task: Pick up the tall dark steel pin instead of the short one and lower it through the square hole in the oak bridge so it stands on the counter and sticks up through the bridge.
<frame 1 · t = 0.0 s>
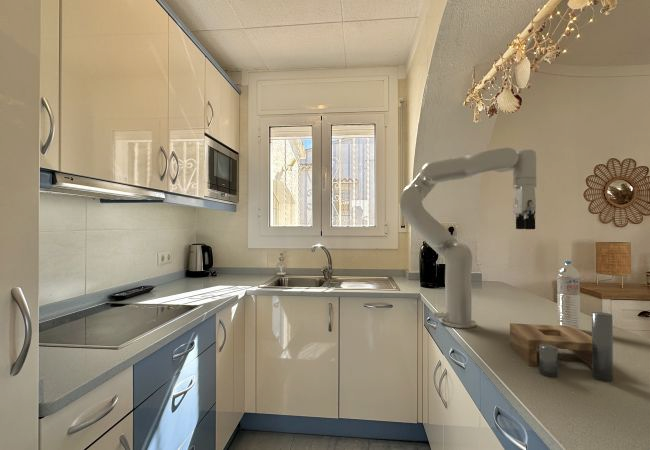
hand: (525, 229, 127), 37 cm above the table, tool pointing down, fingers open, 9 cm apart
bridge: (552, 356, 99), on the table
short pin: (548, 374, 87), on the table
long pin: (602, 378, 85), on the table
water bottle: (568, 330, 124), on the table
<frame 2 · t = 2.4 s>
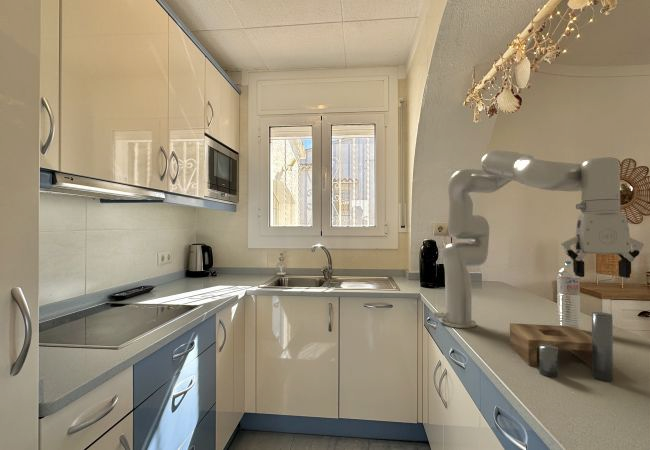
hand: (601, 276, 85), 25 cm above the table, tool pointing down, fingers open, 9 cm apart
nothing on the table moved.
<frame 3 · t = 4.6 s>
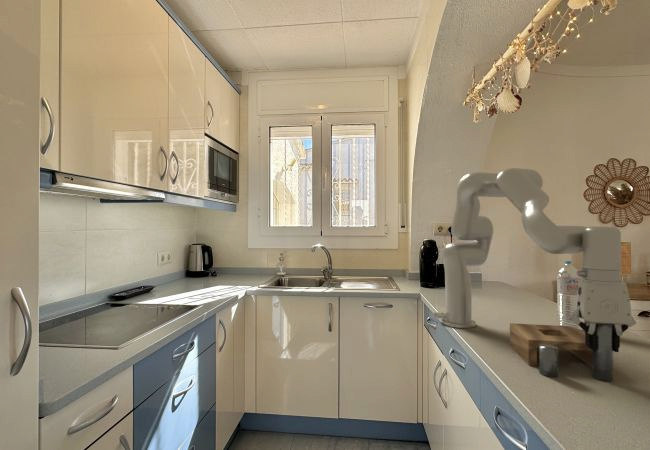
hand: (602, 348, 85), 7 cm above the table, tool pointing down, fingers closed on long pin, 4 cm apart
long pin: (602, 378, 85), on the table, touching gripper
everything else where it was.
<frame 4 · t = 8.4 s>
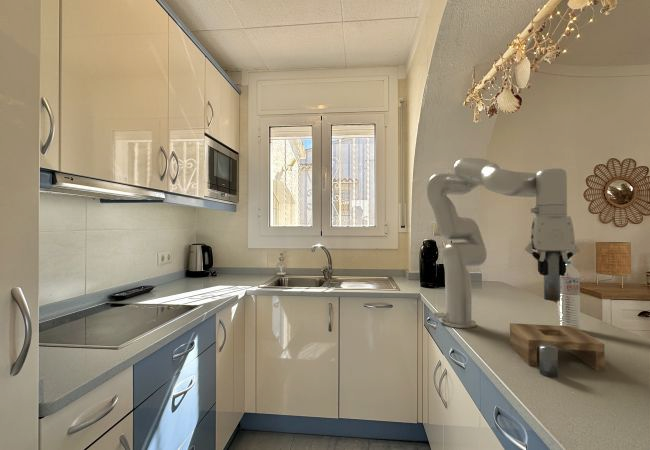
hand: (551, 274, 99), 24 cm above the table, tool pointing down, fingers closed on long pin, 4 cm apart
long pin: (552, 299, 99), point 17 cm above the table, touching gripper
everything else where it was.
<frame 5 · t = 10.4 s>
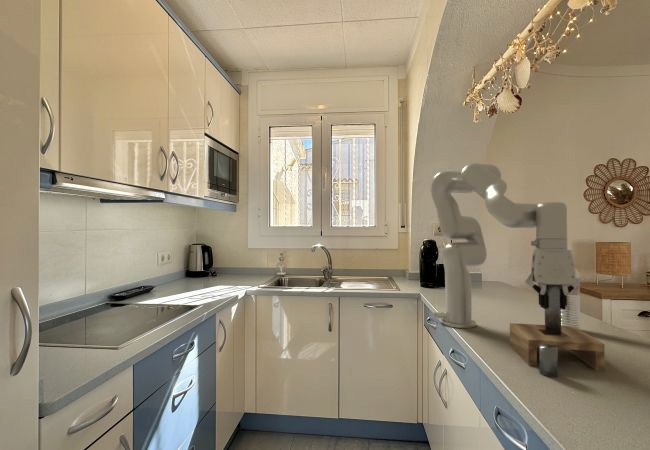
hand: (552, 307, 98), 14 cm above the table, tool pointing down, fingers closed on long pin, 4 cm apart
long pin: (553, 332, 98), point 7 cm above the table, touching gripper
everything else where it was.
when the fingers open (9 cm above the table, at t = 12.1 s): long pin drops 1 cm, on the table.
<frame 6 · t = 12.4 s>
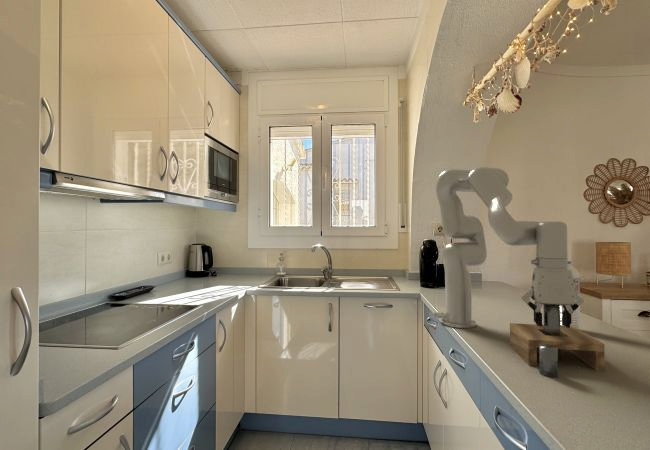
hand: (552, 325, 99), 9 cm above the table, tool pointing down, fingers open, 6 cm apart
long pin: (552, 356, 99), on the table
everything else where it was.
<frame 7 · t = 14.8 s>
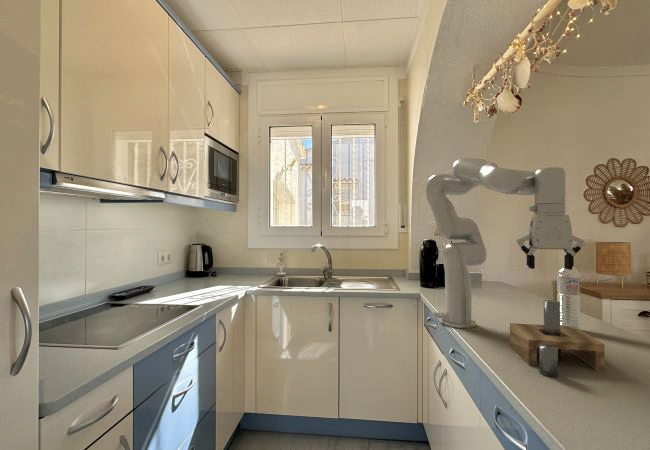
hand: (549, 268, 99), 25 cm above the table, tool pointing down, fingers open, 9 cm apart
nothing on the table moved.
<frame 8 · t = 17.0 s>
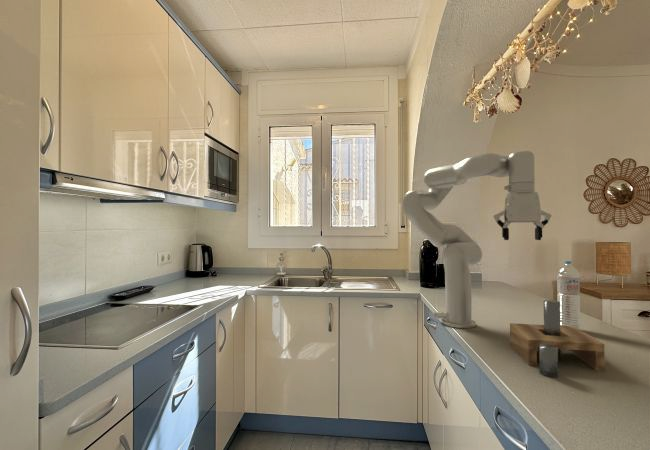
hand: (522, 239, 114), 33 cm above the table, tool pointing down, fingers open, 9 cm apart
nothing on the table moved.
at the end: long pin 0.1 cm off-centre on the bridge, point 0.0 cm above the bridge's base; long pin tilted 0°; short pin moved 0.0 cm from its start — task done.
